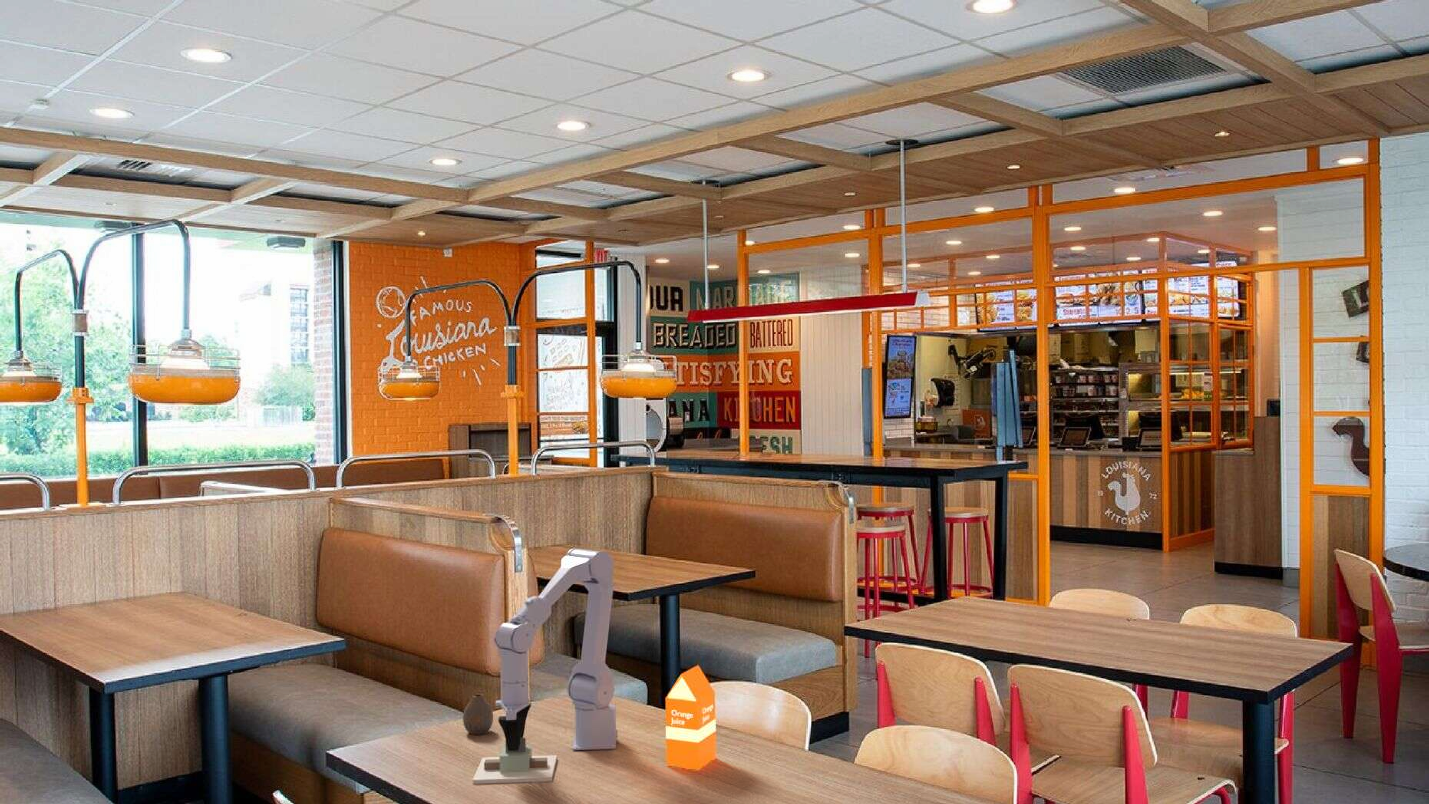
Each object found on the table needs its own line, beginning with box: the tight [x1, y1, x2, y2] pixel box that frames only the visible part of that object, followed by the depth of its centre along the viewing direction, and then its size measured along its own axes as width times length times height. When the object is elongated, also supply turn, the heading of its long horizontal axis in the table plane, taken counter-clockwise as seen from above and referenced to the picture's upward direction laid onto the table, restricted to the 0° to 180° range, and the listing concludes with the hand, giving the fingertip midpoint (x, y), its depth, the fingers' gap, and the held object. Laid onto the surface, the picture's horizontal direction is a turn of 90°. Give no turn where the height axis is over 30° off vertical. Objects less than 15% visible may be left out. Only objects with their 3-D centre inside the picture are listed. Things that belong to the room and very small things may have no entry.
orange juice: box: [665, 664, 717, 771], centre depth 246 cm, size 8×9×20 cm
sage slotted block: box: [499, 737, 533, 773], centre depth 242 cm, size 6×6×6 cm
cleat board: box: [472, 754, 558, 785], centre depth 242 cm, size 16×14×2 cm
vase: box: [462, 693, 494, 736], centre depth 270 cm, size 7×7×9 cm
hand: (515, 744), depth 242 cm, fingers open, 7 cm apart
